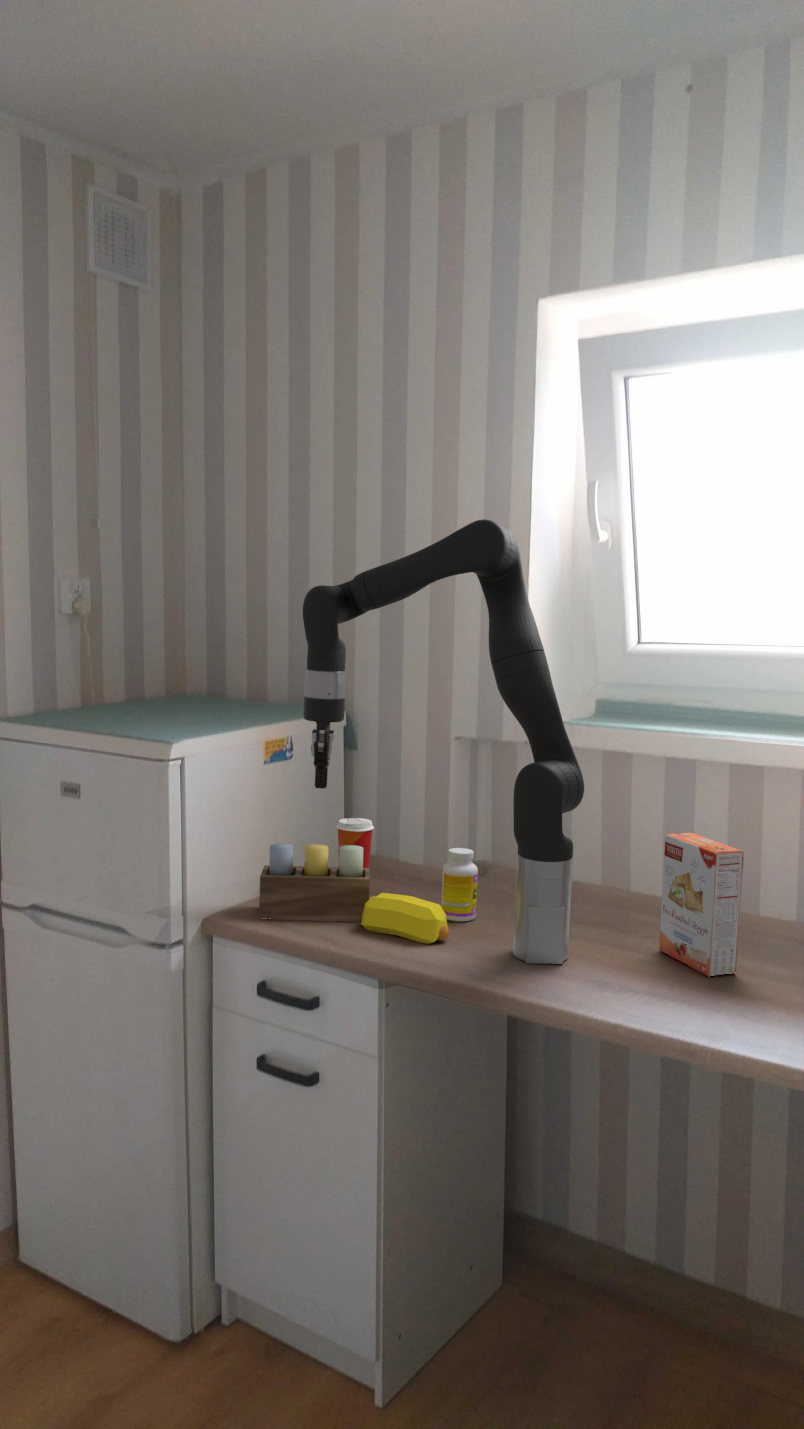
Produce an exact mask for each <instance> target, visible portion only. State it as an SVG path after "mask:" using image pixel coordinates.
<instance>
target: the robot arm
mask: <svg viewBox="0 0 804 1429" xmlns="http://www.w3.org/2000/svg"><path fill="white" fill-rule="evenodd" d="M522 564H523V563H522V557H521V552H520V547H519V542H518V541H517V539H516V537H515V535H514V534H513V532H511V531H510V530H509V529H508V528H507V527H504V526H503V525H502V524H500V523H498V522H496V521H494V520H490V519H478V520H475V521H472V522H470V523H468V524H466V525H464V526H463V527H460V528H459V529H458V530H455V531H454V532H453V533H450V534H449V535H447V536H446V537H445V536H444V538H441V539H440V540H438V541H436V542H434V543H432V544H430V545H428V546H426V547H424V548H422V549H420V550H418V551H415V552H413V553H410V554H409V555H406V556H404V557H401V558H398V559H396V560H393V561H391V562H387V563H384V564H381V565H379V566H376V567H373V568H370V569H367V570H364V571H363V572H360V573H358V574H357V575H355V576H354V577H353V579H351V580H349V581H346V582H343V583H340V584H336V585H323V584H321V585H316V586H313V587H312V588H311V589H309V590H308V591H307V593H306V595H305V596H304V599H303V603H302V620H303V626H304V627H303V628H304V634H305V639H306V642H307V653H306V654H307V655H306V656H307V657H306V674H305V679H304V689H303V690H304V692H303V696H304V697H303V714H302V715H303V716H302V717H303V720H305V721H308V722H314V723H315V724H316V728H313V729H312V732H311V740H312V755H313V757H314V758H313V760H314V761H313V766H314V768H315V770H314V771H315V772H314V774H315V775H314V788H316V789H326V788H327V786H328V774H329V773H328V772H329V767H330V761H331V756H332V754H333V741H334V738H335V730H334V729H331V723H340V722H343V721H344V720H345V709H346V707H345V705H346V686H347V685H346V684H347V682H346V656H347V655H346V654H347V653H346V644H345V642H344V641H343V640H342V639H340V637H339V636H340V635H339V634H340V633H339V624H342V623H346V622H349V621H351V620H353V619H356V618H358V617H360V616H362V615H364V614H366V613H368V612H370V611H374V610H377V609H380V608H382V607H385V606H389V605H392V604H395V603H397V602H400V601H402V600H405V599H407V598H409V597H411V596H413V595H415V594H416V593H418V592H419V591H421V590H423V589H425V588H426V587H427V586H429V585H431V584H433V583H436V582H437V581H440V580H442V579H445V578H449V577H452V576H453V577H454V576H458V575H464V574H469V573H474V574H476V576H477V579H478V582H479V583H480V584H479V585H480V587H481V590H482V593H483V595H484V599H485V602H486V606H487V610H488V613H487V614H488V652H489V653H488V654H489V658H490V664H491V667H492V671H493V674H494V679H495V684H496V687H497V691H498V692H499V694H500V697H501V698H502V699H503V702H504V703H505V705H506V707H507V709H509V711H510V712H511V714H512V715H513V716H514V718H515V719H516V721H517V722H518V723H519V725H520V726H521V729H522V730H523V732H524V733H525V735H526V739H527V741H528V743H529V746H530V750H531V753H532V758H533V762H532V763H529V764H527V765H525V766H524V767H522V768H521V769H520V771H519V772H518V774H517V776H516V779H515V781H514V788H513V808H512V810H513V836H514V839H515V842H516V844H517V845H516V846H517V851H516V852H517V853H516V855H517V857H516V858H517V859H516V874H515V876H516V877H515V879H516V880H515V897H514V917H513V918H514V920H513V943H512V944H513V945H512V954H513V956H515V958H517V959H519V960H522V961H524V962H525V964H545V965H548V964H552V965H563V964H564V961H566V960H567V959H568V956H569V939H570V937H569V936H570V935H569V934H570V919H571V916H570V915H571V914H570V913H571V897H572V880H573V878H572V875H573V863H574V862H573V859H574V858H573V857H574V843H573V840H572V839H571V838H569V837H568V836H565V835H564V833H563V814H565V813H568V812H571V811H573V810H575V809H577V808H578V806H580V804H581V802H582V801H583V798H584V794H585V782H584V777H583V773H582V770H581V767H580V765H579V762H578V759H577V757H576V755H575V754H576V753H575V752H574V749H573V746H572V744H571V741H570V739H569V736H568V733H567V731H566V727H565V724H564V720H563V717H562V713H561V710H560V706H559V701H558V699H557V698H558V697H557V695H556V692H555V689H554V685H553V680H552V677H551V670H550V667H549V664H548V660H547V656H546V653H545V652H546V651H545V648H544V646H543V645H544V644H543V643H542V640H541V636H540V632H539V629H538V626H537V623H536V620H535V616H534V614H533V610H532V608H531V606H530V601H529V598H528V595H527V589H526V584H525V578H524V572H523V571H524V570H523V566H522Z"/></svg>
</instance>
